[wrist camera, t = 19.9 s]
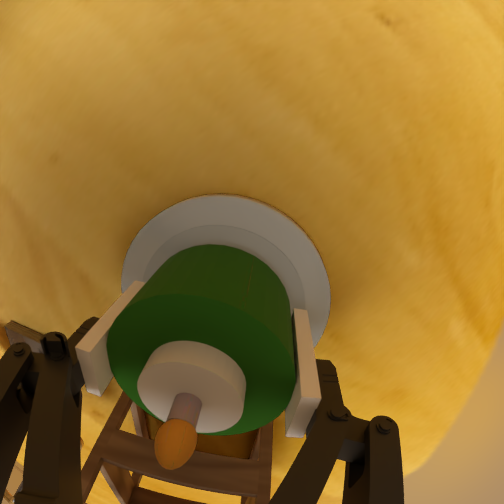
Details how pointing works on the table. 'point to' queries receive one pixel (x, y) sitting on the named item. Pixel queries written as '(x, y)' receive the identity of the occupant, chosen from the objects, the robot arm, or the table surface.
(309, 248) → the dish
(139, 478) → the crate
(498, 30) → the table surface
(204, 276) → the candle
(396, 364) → the table surface
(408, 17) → the table surface
